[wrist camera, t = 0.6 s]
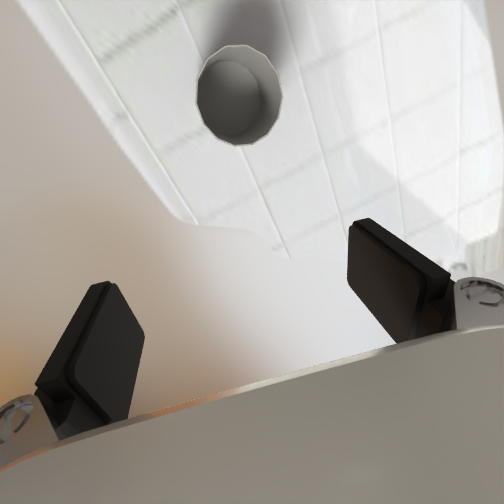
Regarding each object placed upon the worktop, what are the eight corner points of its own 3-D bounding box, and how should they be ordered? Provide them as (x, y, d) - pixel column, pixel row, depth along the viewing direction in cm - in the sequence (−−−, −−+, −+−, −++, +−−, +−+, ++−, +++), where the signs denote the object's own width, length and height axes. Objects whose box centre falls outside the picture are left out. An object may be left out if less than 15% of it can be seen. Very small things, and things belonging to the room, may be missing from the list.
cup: (198, 52, 30) (198, 32, 22) (265, 68, 32) (290, 55, 24) (194, 131, 34) (193, 140, 26) (254, 140, 36) (272, 152, 28)
